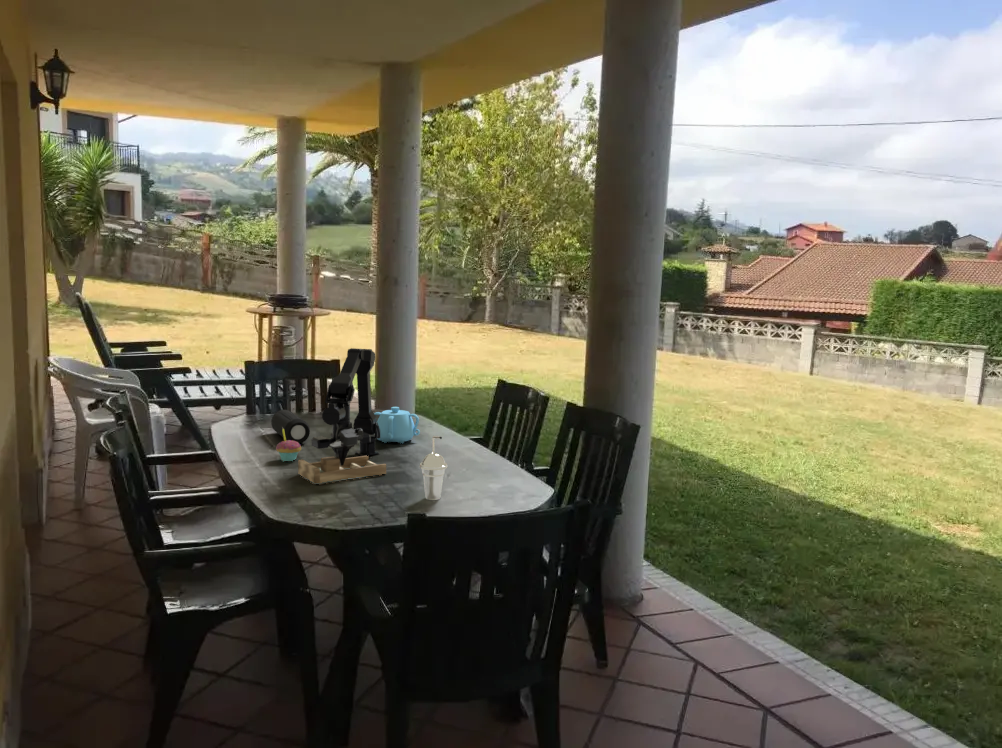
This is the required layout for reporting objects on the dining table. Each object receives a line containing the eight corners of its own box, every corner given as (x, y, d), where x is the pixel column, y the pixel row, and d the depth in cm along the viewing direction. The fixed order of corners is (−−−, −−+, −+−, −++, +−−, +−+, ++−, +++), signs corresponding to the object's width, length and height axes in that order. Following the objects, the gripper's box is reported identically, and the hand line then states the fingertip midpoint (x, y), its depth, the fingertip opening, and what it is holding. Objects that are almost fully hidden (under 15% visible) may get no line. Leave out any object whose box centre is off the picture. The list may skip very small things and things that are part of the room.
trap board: (298, 474, 262) (298, 460, 262) (367, 465, 277) (367, 451, 276) (315, 485, 251) (315, 469, 251) (386, 474, 266) (386, 459, 265)
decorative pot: (404, 435, 327) (405, 402, 325) (422, 442, 313) (423, 408, 312) (367, 438, 318) (367, 405, 316) (384, 447, 305) (384, 412, 303)
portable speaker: (311, 444, 306) (311, 419, 304) (286, 447, 301) (285, 421, 299) (294, 431, 328) (293, 407, 326) (269, 433, 323) (269, 409, 321)
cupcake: (276, 463, 276) (275, 429, 274) (276, 457, 284) (275, 424, 282) (301, 462, 278) (301, 429, 276) (301, 456, 286) (300, 424, 285)
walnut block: (320, 469, 262) (320, 457, 261) (333, 468, 264) (333, 456, 264) (326, 472, 258) (326, 460, 258) (339, 471, 261) (339, 459, 260)
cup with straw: (447, 494, 245) (448, 430, 243) (446, 503, 236) (447, 437, 234) (419, 493, 245) (420, 429, 242) (417, 502, 236) (418, 436, 233)
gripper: (324, 426, 249) (325, 474, 251) (378, 420, 260) (378, 466, 262) (310, 420, 258) (311, 467, 260) (362, 414, 269) (362, 459, 271)
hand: (341, 465), depth 263 cm, fingers closed
